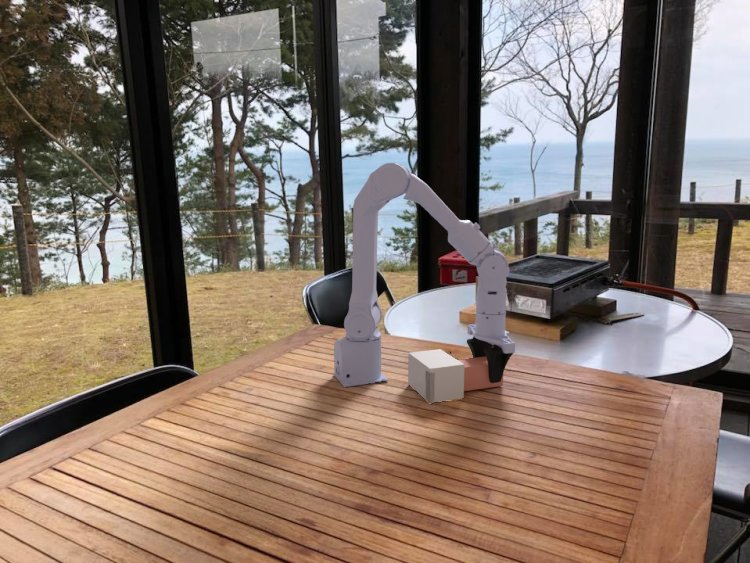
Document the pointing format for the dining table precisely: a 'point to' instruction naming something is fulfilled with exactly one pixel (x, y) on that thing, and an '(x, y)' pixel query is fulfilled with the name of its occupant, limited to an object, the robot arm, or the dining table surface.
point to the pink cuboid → (477, 374)
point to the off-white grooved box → (436, 375)
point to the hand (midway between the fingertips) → (488, 377)
